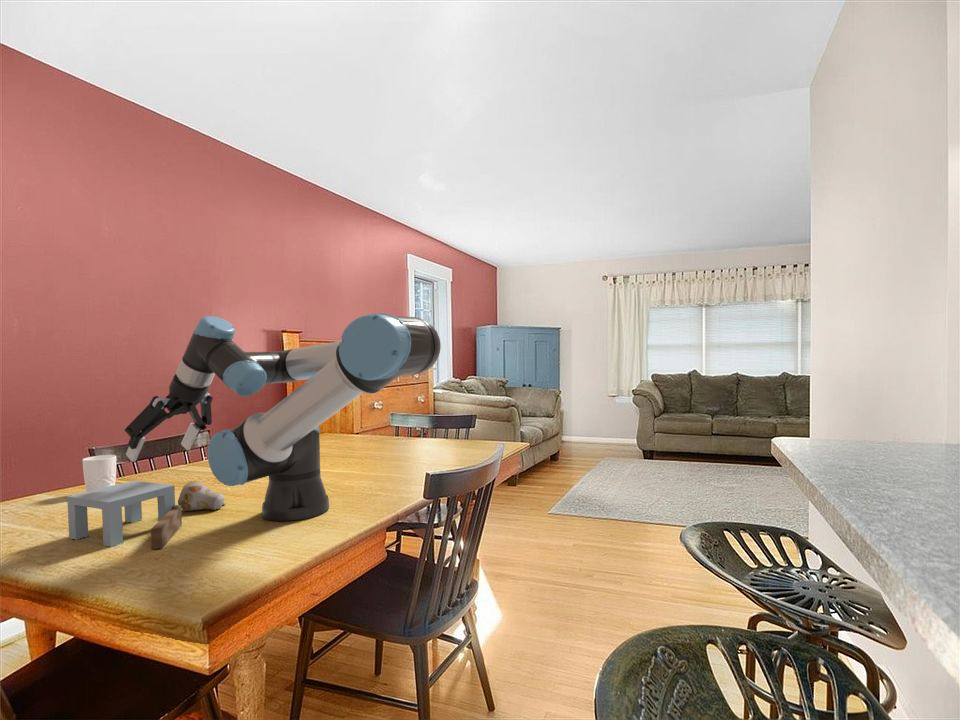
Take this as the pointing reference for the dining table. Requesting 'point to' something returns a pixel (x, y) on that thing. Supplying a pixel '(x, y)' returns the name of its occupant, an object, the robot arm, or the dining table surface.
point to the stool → (116, 507)
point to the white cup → (99, 471)
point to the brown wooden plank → (166, 527)
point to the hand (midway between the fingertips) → (159, 452)
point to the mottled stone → (199, 497)
